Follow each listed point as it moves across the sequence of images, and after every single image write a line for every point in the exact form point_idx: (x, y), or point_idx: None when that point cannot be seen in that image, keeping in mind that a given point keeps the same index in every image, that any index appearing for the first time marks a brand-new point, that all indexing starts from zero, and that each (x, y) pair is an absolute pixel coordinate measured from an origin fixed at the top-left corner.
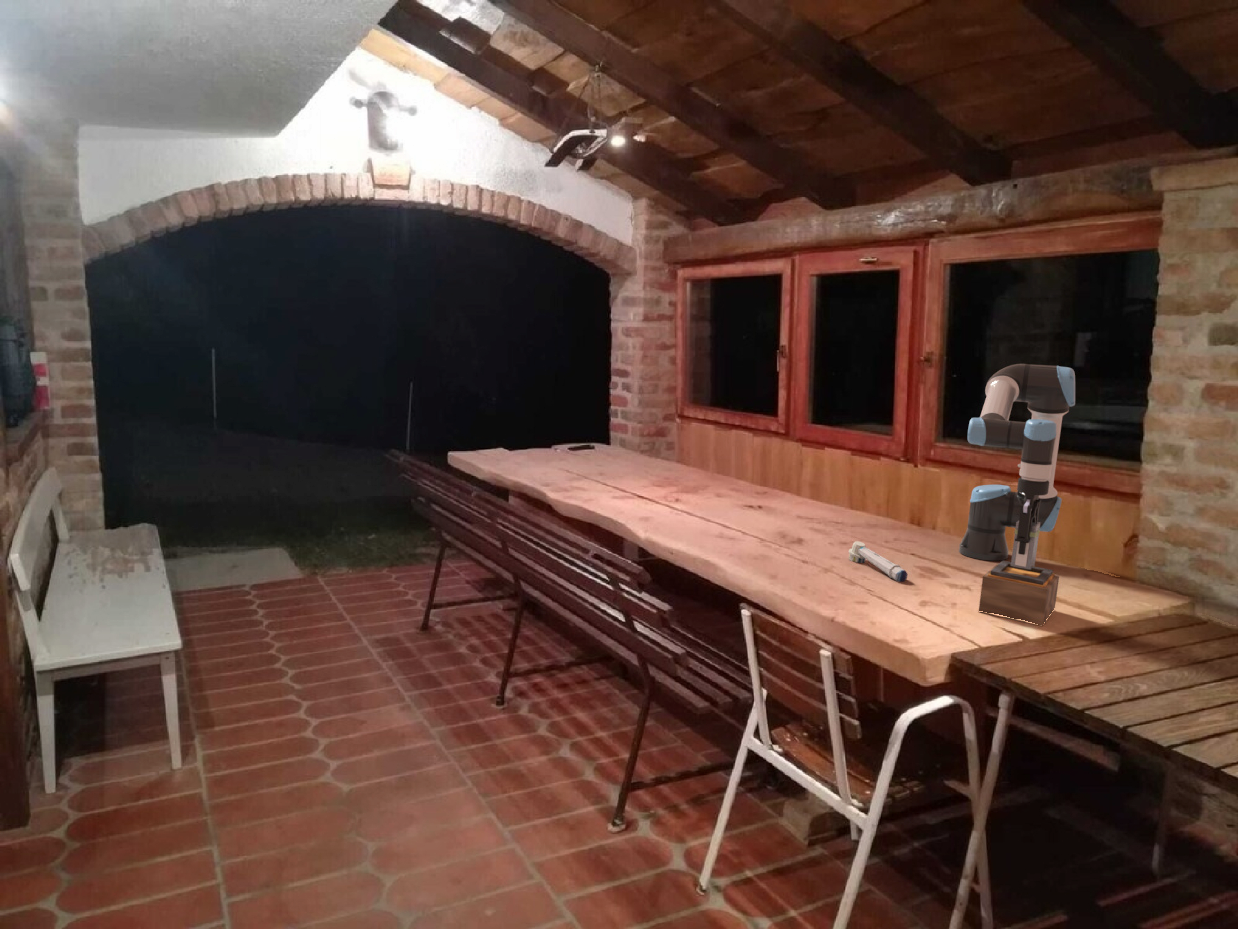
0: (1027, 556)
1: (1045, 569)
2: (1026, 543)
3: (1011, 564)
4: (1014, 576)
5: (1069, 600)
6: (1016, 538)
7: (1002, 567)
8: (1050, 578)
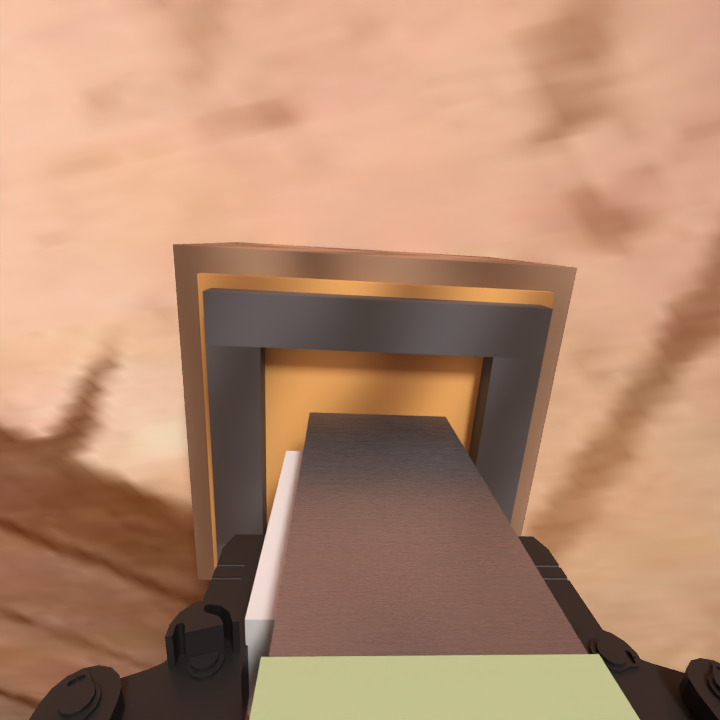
0: None
1: None
2: (248, 688)
3: (308, 421)
4: (211, 439)
5: (611, 494)
6: (66, 693)
7: (358, 343)
8: None
